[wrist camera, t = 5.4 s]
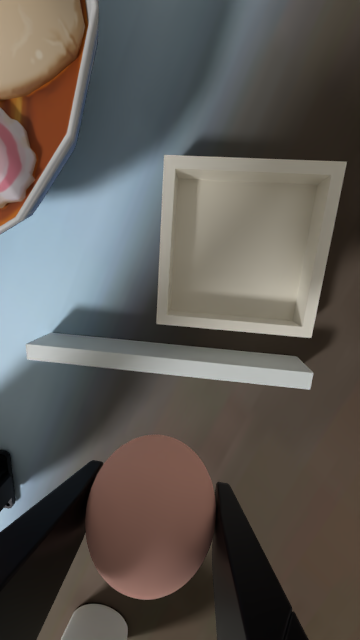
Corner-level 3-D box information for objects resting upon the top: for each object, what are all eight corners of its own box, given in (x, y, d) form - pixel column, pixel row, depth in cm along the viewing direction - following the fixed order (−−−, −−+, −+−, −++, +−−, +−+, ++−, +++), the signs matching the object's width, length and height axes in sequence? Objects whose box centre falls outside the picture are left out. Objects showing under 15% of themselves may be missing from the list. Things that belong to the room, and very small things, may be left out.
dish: (162, 316, 19) (156, 324, 17) (169, 169, 17) (164, 154, 15) (297, 328, 18) (311, 338, 16) (326, 176, 16) (347, 161, 14)
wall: (51, 345, 21) (27, 359, 18) (51, 332, 20) (25, 344, 18) (293, 370, 19) (309, 389, 16) (296, 356, 19) (313, 373, 16)
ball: (114, 486, 10) (57, 620, 7) (116, 403, 9) (50, 504, 6) (208, 503, 10) (207, 657, 6) (220, 419, 9) (229, 539, 5)
